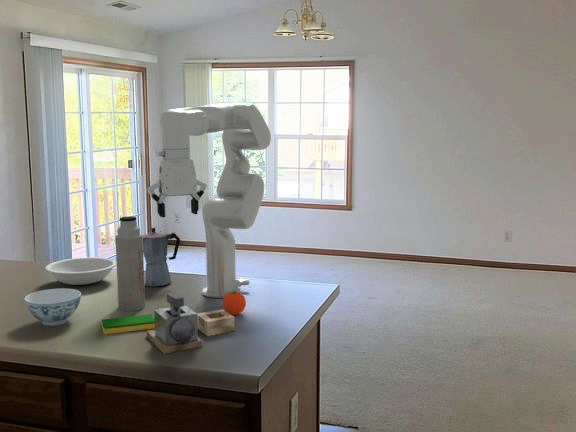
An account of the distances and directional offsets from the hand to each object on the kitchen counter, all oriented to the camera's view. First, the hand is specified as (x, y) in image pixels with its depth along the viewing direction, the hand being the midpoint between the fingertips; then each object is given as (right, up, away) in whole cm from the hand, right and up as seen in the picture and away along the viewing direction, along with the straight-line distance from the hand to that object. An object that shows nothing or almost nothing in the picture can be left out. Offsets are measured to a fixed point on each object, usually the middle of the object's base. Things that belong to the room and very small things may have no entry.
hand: (178, 215), depth 175 cm
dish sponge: (-13, -32, -5) cm, 35 cm away
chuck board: (+2, -33, -16) cm, 36 cm away
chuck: (+1, -31, -14) cm, 34 cm away
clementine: (+15, -30, +7) cm, 34 cm away
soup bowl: (-41, -24, +42) cm, 64 cm away
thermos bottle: (-17, -28, +14) cm, 36 cm away
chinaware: (-35, -31, 0) cm, 47 cm away
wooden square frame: (+11, -31, -7) cm, 34 cm away
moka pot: (-14, -24, +40) cm, 49 cm away
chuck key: (+3, -32, -18) cm, 36 cm away
